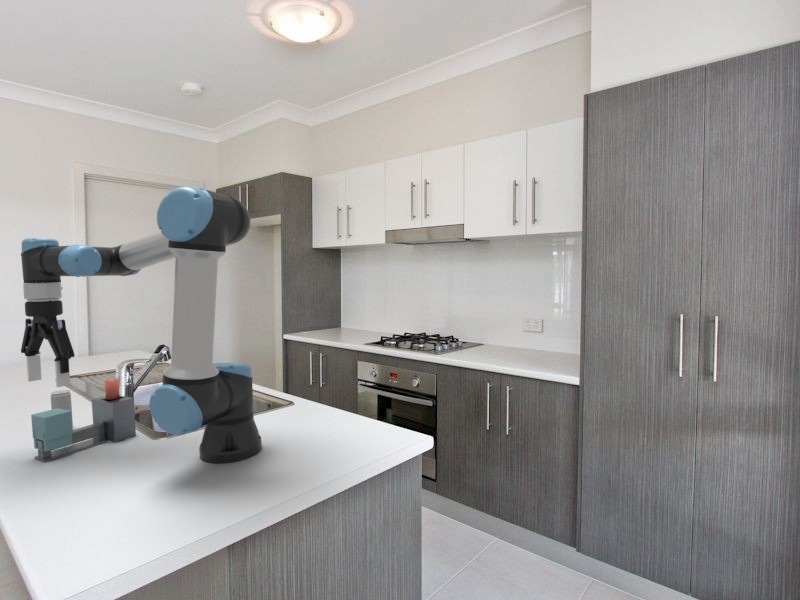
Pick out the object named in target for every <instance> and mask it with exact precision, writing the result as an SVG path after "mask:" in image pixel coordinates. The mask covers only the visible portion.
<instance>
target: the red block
mask: <svg viewBox="0 0 800 600" xmlns="http://www.w3.org/2000/svg"><path fill="white" fill-rule="evenodd" d="M104 393H105V395H104V396H106V399H116V398H119V397H120V396H121V395H120V380H119V378H117V377H116V378H115V377H114V378H108V379H105V380H104Z"/></svg>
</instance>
